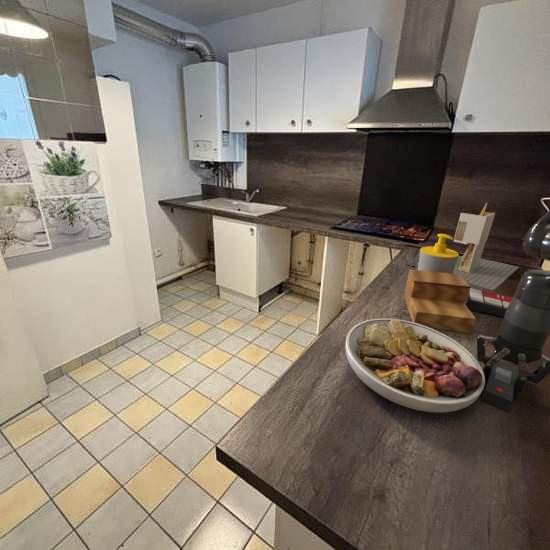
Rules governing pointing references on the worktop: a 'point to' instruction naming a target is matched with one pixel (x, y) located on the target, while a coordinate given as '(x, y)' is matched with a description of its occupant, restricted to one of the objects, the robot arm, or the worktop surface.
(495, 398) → the remote
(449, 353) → the bowl
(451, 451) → the worktop surface
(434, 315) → the shelf
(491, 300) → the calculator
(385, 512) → the worktop surface
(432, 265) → the soap bottle
